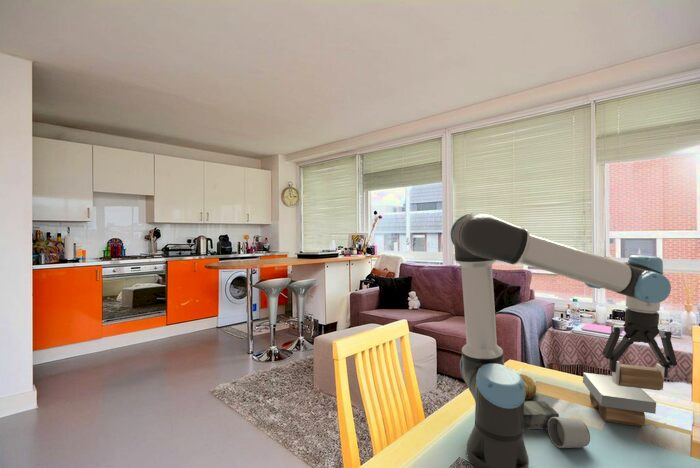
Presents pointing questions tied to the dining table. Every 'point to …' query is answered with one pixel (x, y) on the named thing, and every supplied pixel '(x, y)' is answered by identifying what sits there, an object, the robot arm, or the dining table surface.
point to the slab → (618, 394)
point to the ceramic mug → (568, 432)
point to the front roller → (622, 416)
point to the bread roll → (529, 386)
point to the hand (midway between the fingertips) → (636, 385)
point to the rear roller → (594, 401)
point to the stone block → (537, 415)
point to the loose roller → (640, 377)
